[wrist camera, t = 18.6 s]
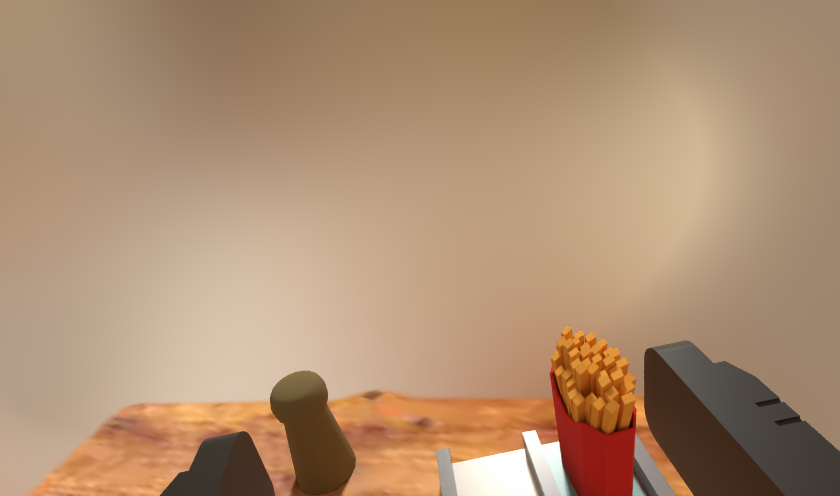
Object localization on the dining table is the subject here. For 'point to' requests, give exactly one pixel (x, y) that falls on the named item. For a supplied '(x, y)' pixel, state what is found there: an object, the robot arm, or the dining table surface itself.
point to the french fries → (594, 415)
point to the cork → (312, 433)
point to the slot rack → (534, 473)
